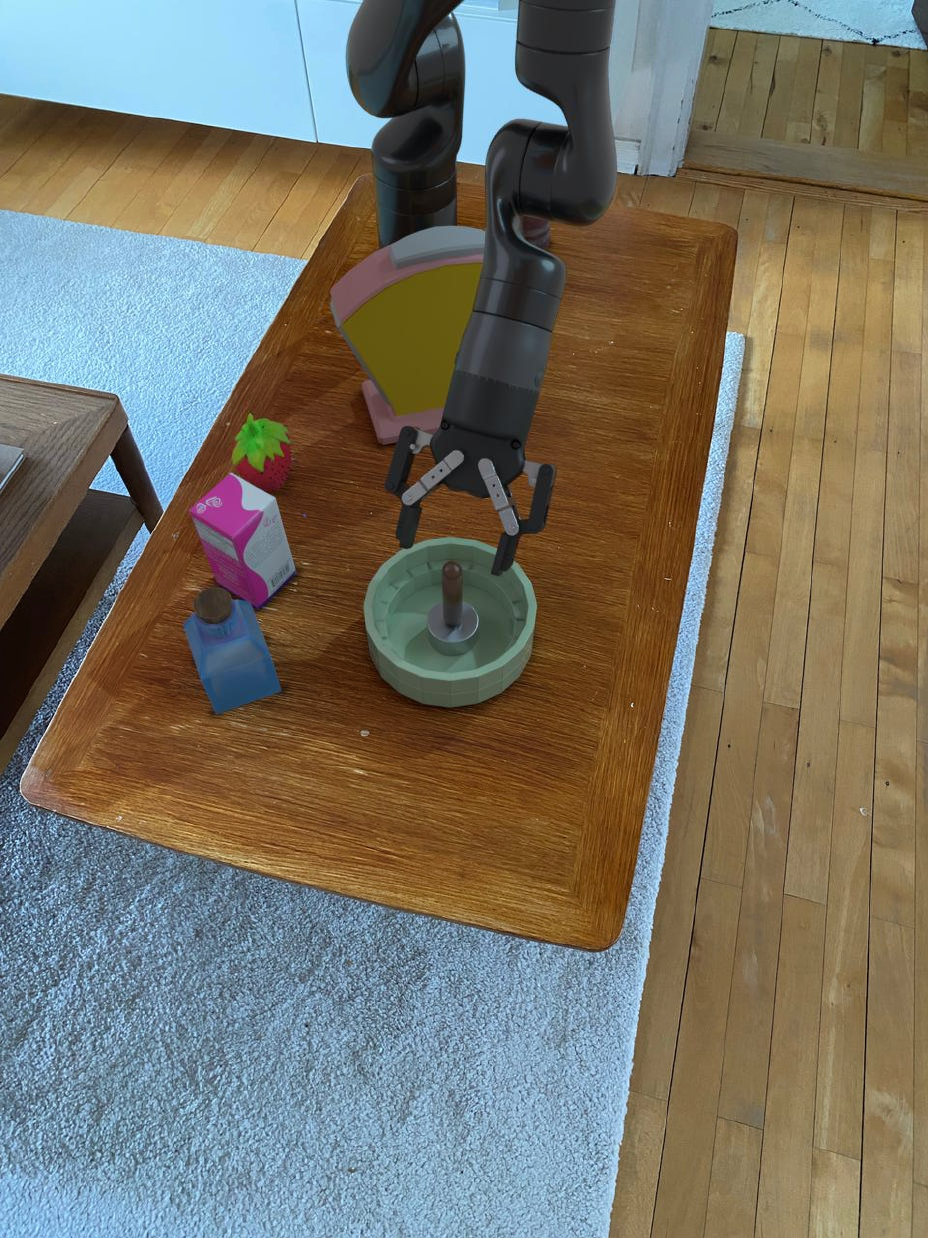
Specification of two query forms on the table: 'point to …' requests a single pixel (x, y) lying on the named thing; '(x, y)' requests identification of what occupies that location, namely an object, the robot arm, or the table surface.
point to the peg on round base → (452, 616)
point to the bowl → (402, 623)
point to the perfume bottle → (229, 650)
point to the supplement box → (244, 540)
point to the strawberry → (262, 453)
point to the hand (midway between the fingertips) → (450, 560)
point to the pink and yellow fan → (410, 322)
